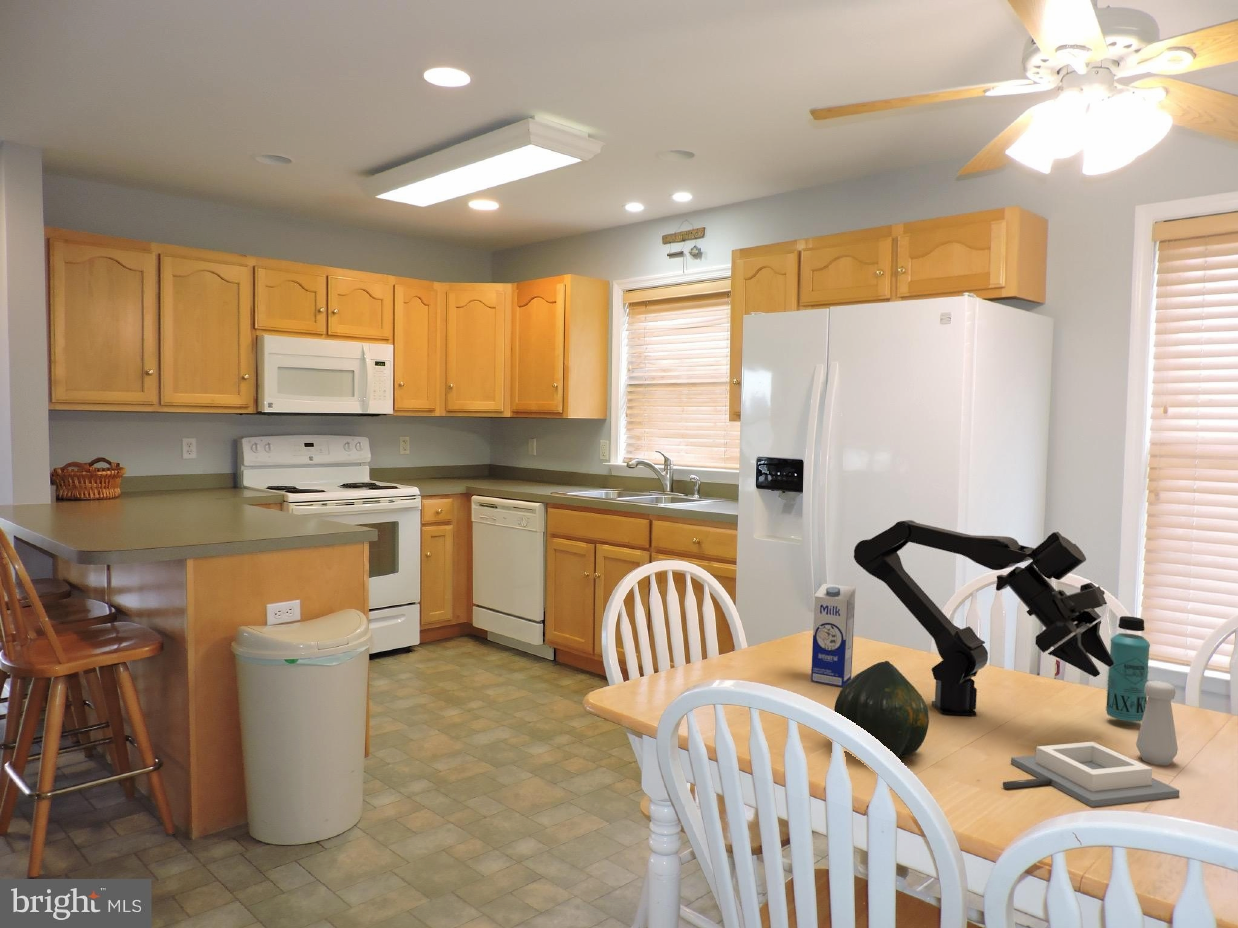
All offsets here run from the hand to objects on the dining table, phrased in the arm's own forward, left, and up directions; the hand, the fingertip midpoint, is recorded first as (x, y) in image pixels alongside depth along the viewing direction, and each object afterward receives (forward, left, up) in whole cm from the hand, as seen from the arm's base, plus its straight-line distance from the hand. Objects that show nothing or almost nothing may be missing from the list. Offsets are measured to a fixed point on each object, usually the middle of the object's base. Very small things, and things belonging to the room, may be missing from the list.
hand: (1105, 670), depth 144 cm
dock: (-13, -16, -13) cm, 24 cm away
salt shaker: (+6, -5, -13) cm, 16 cm away
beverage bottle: (+11, +13, -13) cm, 22 cm away
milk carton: (-39, +33, -13) cm, 52 cm away
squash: (-39, -5, -13) cm, 42 cm away
